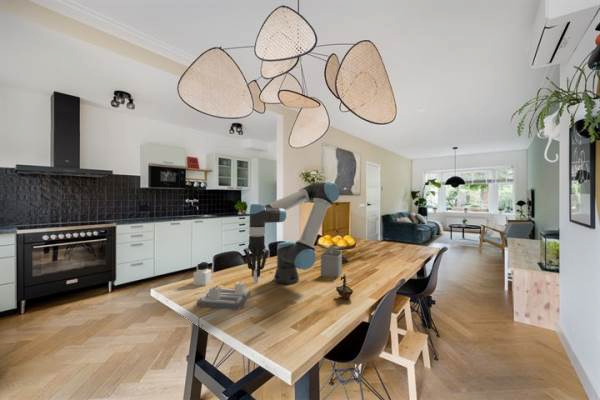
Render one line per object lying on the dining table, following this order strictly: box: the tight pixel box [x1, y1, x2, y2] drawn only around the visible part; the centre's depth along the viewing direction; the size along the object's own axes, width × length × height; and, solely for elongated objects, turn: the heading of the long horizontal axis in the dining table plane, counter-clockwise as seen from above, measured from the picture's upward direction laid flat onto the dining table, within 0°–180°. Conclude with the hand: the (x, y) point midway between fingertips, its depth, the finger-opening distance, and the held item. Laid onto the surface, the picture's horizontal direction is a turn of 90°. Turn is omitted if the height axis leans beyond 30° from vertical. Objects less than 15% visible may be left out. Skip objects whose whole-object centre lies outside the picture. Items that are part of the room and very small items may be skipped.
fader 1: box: [208, 286, 222, 300], centre depth 112 cm, size 4×4×5 cm
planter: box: [320, 244, 343, 279], centre depth 154 cm, size 16×8×19 cm, turn 116°
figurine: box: [335, 274, 354, 299], centre depth 120 cm, size 10×8×12 cm
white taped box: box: [234, 281, 246, 295], centre depth 119 cm, size 4×4×5 cm
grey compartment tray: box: [196, 288, 251, 310], centre depth 116 cm, size 20×16×3 cm
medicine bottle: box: [193, 261, 212, 287], centre depth 138 cm, size 7×7×12 cm
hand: (255, 283), depth 117 cm, fingers closed
